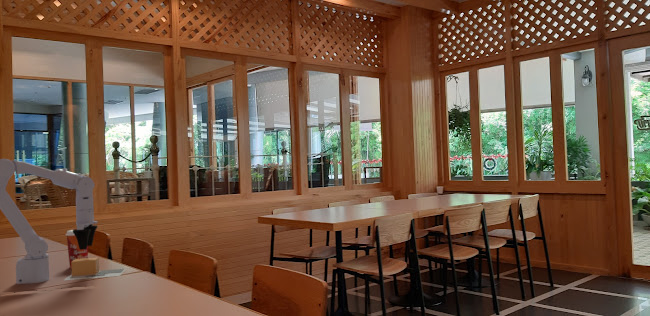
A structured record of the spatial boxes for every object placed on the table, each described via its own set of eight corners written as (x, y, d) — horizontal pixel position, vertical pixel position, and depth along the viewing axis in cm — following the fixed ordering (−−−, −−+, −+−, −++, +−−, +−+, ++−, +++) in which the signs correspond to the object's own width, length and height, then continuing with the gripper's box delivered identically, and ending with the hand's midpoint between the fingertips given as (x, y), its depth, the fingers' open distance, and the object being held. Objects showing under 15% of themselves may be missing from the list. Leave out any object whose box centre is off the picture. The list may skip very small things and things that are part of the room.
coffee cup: (70, 272, 190) (69, 232, 191) (64, 269, 197) (63, 230, 197) (93, 268, 196) (92, 229, 196) (87, 265, 202) (86, 228, 202)
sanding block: (71, 275, 180) (71, 261, 180) (75, 272, 185) (75, 259, 185) (96, 274, 181) (95, 260, 181) (99, 271, 186) (98, 257, 186)
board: (63, 283, 173) (63, 280, 173) (73, 275, 185) (73, 272, 185) (119, 278, 177) (119, 275, 177) (125, 271, 188) (125, 268, 188)
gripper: (91, 210, 177) (93, 250, 176) (101, 207, 191) (102, 243, 191) (69, 211, 175) (71, 251, 175) (81, 208, 189) (82, 244, 189)
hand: (86, 247), depth 183 cm, fingers open, 7 cm apart
